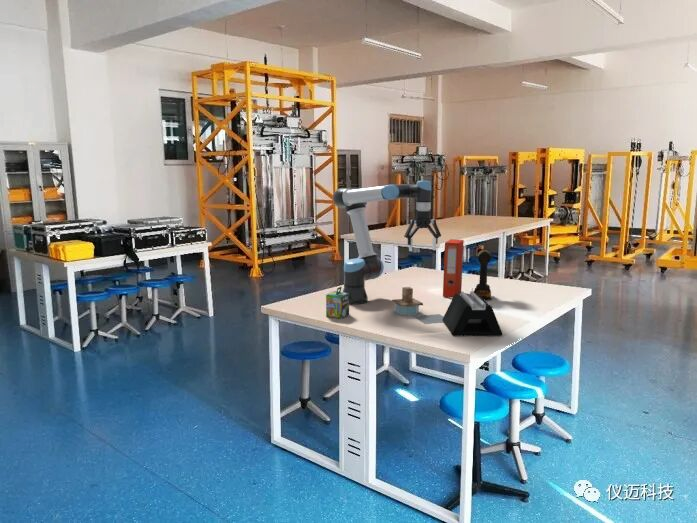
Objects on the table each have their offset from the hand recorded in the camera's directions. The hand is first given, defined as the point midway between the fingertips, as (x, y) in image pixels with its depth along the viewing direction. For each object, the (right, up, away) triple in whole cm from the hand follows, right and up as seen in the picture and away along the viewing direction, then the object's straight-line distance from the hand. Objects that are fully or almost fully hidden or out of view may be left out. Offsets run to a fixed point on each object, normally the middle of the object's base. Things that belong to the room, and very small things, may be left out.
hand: (422, 250), depth 299 cm
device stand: (+18, -37, -37) cm, 55 cm away
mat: (+2, -35, -21) cm, 41 cm away
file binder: (+23, -26, +36) cm, 49 cm away
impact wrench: (+40, -26, +31) cm, 57 cm away
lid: (-9, -27, -10) cm, 30 cm away
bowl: (-9, -33, -9) cm, 35 cm away
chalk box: (-45, -33, -13) cm, 57 cm away
